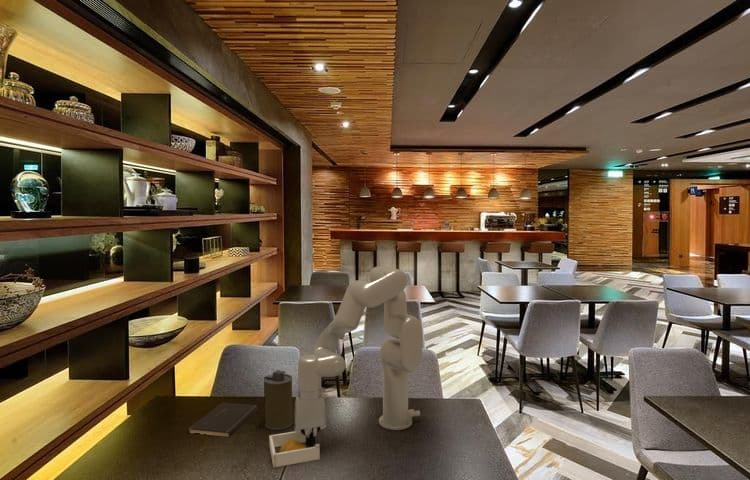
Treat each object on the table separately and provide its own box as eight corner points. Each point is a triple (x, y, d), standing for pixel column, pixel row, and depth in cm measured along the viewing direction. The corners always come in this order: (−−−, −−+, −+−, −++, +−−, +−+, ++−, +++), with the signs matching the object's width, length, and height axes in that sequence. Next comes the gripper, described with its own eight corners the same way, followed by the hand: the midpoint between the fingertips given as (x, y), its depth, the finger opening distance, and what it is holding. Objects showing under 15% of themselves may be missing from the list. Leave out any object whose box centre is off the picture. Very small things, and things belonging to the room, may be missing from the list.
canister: (298, 419, 169) (297, 368, 168) (284, 432, 159) (283, 377, 158) (273, 415, 173) (272, 365, 172) (258, 427, 163) (257, 374, 162)
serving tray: (312, 439, 154) (312, 426, 153) (319, 459, 141) (319, 445, 141) (269, 446, 149) (269, 433, 149) (273, 467, 136) (273, 453, 136)
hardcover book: (188, 434, 159) (188, 428, 158) (222, 407, 181) (222, 402, 181) (229, 438, 156) (228, 432, 155) (258, 410, 178) (258, 405, 178)
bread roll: (292, 464, 139) (291, 452, 138) (276, 454, 145) (276, 442, 145) (312, 454, 144) (312, 442, 144) (296, 444, 151) (296, 433, 150)
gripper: (329, 386, 152) (329, 437, 152) (285, 391, 147) (286, 445, 148) (334, 394, 144) (334, 448, 145) (288, 400, 140) (289, 456, 141)
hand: (310, 446), depth 147 cm, fingers closed
